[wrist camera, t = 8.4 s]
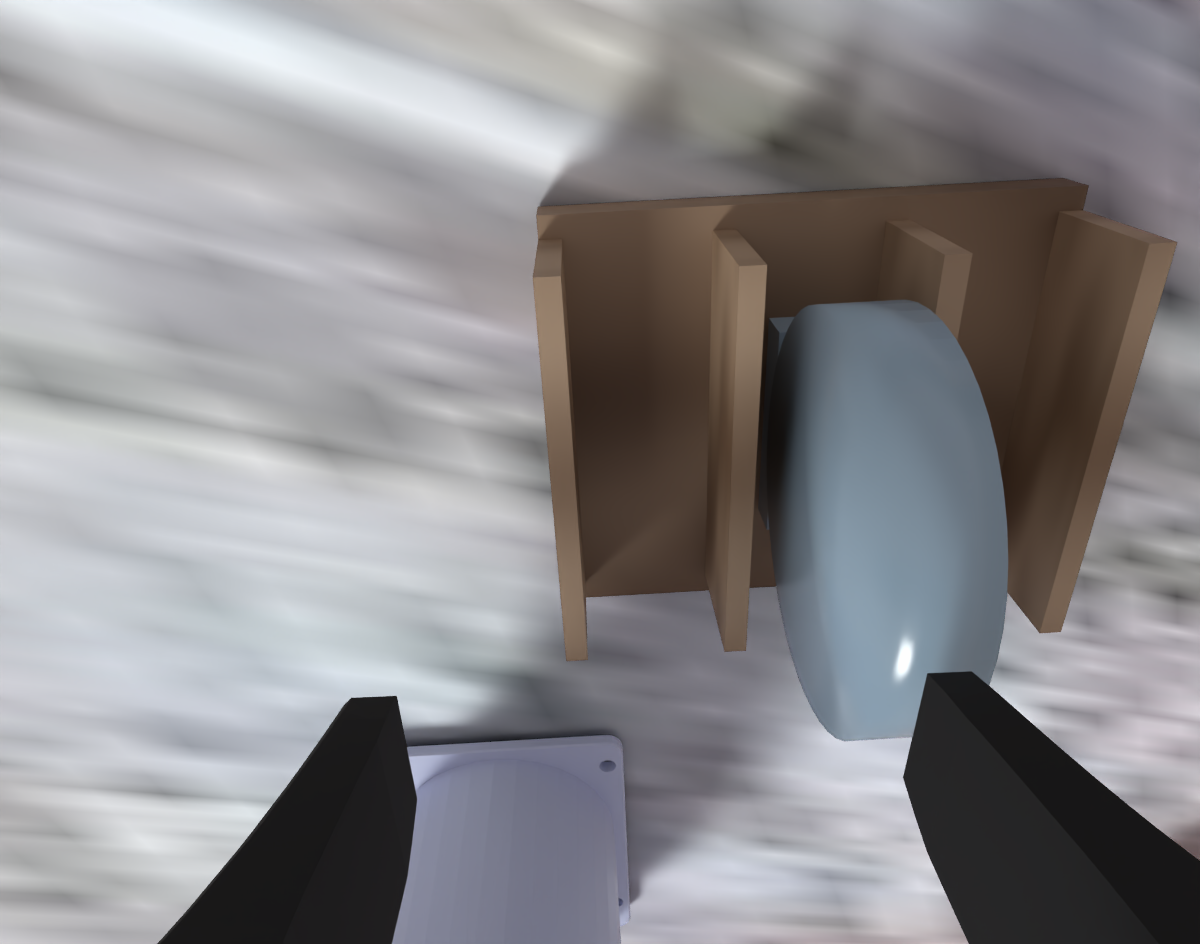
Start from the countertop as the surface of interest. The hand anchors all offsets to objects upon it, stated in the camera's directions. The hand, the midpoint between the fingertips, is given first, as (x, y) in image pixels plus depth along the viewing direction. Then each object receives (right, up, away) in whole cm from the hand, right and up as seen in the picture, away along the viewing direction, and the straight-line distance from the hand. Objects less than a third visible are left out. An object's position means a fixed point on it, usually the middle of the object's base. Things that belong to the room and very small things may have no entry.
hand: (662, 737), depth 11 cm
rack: (+4, +5, +9) cm, 11 cm away
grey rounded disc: (+4, +5, +8) cm, 10 cm away
